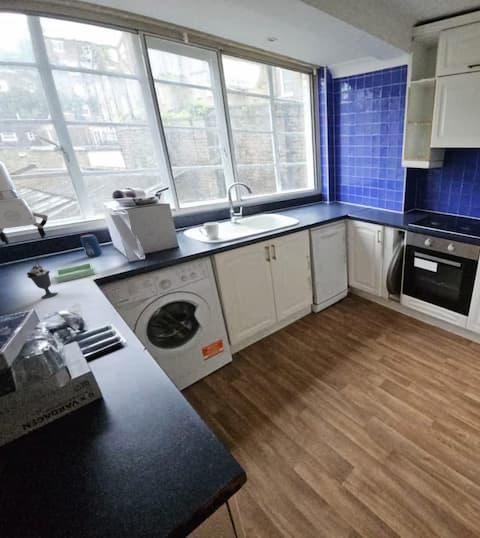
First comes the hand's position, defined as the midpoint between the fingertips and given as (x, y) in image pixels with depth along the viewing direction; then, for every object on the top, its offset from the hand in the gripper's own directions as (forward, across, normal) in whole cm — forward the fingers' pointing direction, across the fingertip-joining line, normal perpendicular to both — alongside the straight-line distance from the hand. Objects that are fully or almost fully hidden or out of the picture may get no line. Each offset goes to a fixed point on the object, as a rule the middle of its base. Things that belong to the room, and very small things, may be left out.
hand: (26, 240), depth 114 cm
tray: (+24, +8, +23) cm, 34 cm away
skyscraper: (+24, +33, +26) cm, 48 cm away
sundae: (+24, -1, +1) cm, 24 cm away
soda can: (+24, +17, +53) cm, 60 cm away
